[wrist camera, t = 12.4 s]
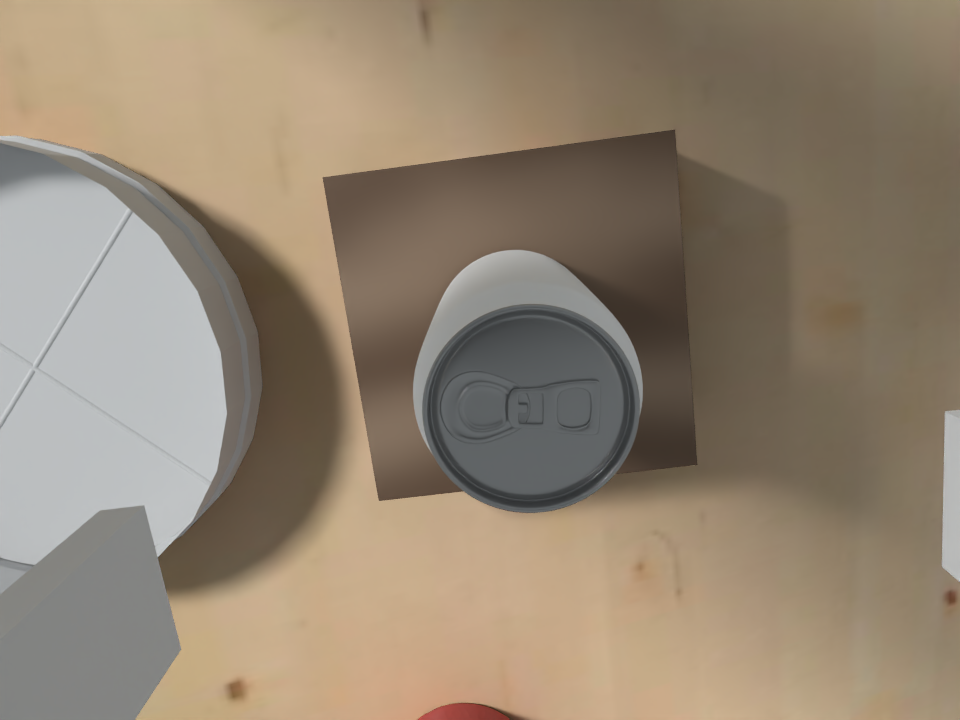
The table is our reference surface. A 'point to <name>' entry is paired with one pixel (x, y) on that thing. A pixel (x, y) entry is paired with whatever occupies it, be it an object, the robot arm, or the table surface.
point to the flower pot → (463, 713)
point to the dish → (112, 353)
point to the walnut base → (514, 226)
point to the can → (526, 385)
